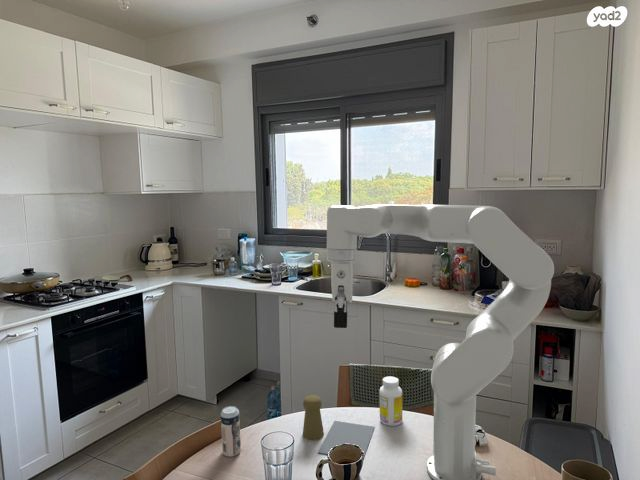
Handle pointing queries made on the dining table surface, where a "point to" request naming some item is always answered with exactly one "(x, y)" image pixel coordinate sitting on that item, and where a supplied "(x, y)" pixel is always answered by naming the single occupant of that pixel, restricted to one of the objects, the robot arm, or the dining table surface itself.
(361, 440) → the mat
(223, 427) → the beer can
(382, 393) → the supplement bottle
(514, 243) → the robot arm
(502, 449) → the dining table surface
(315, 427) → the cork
